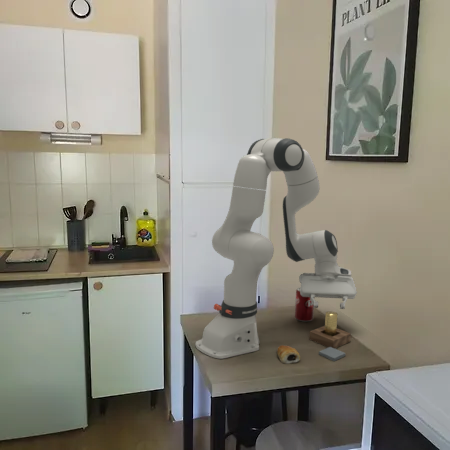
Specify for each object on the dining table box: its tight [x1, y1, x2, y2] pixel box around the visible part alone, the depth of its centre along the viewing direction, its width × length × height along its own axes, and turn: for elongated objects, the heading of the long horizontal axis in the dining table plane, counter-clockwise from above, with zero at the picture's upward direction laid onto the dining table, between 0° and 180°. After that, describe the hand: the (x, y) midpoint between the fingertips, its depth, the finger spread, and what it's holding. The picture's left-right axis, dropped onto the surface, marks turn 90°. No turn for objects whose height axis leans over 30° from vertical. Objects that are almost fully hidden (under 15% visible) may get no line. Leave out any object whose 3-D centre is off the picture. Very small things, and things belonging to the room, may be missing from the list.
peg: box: [324, 310, 338, 337], centre depth 154 cm, size 4×4×10 cm
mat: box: [318, 347, 346, 362], centre depth 143 cm, size 6×6×1 cm
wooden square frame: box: [308, 325, 352, 349], centre depth 155 cm, size 10×10×3 cm
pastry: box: [277, 344, 301, 365], centre depth 141 cm, size 9×7×4 cm
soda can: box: [294, 286, 315, 323], centre depth 174 cm, size 7×7×12 cm
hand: (329, 307), depth 158 cm, fingers open, 8 cm apart
